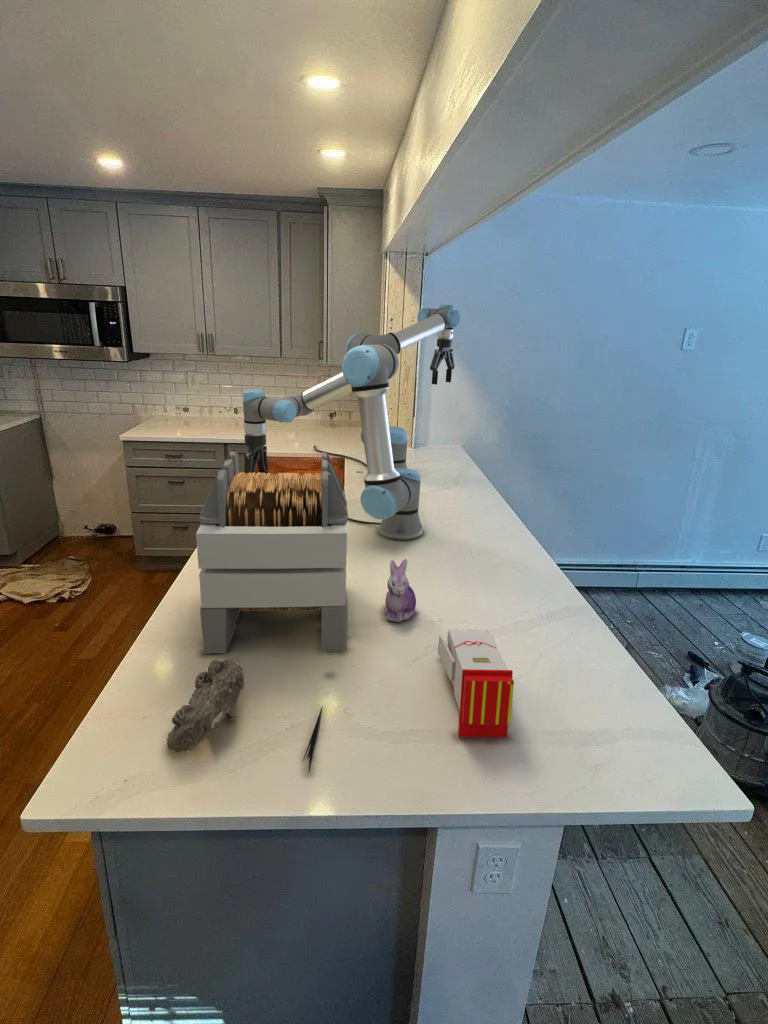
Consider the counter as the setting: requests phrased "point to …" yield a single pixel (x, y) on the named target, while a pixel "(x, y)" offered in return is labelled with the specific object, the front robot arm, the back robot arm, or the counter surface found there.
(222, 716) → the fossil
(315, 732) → the feather
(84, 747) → the counter surface
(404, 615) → the figurine
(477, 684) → the toy
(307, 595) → the record crate
